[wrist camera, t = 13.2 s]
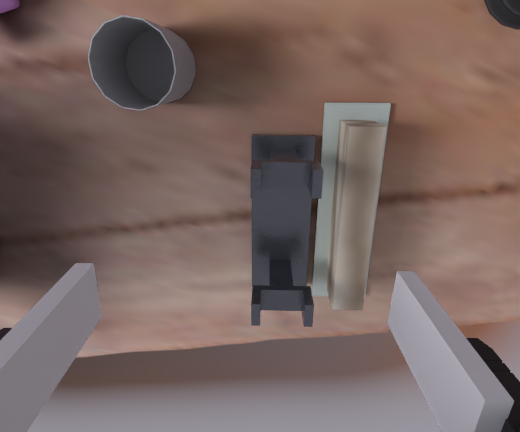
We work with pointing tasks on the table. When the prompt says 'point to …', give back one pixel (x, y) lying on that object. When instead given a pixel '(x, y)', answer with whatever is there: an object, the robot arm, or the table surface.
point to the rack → (282, 222)
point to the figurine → (505, 12)
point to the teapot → (8, 5)
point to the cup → (140, 63)
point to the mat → (328, 163)
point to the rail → (353, 211)
